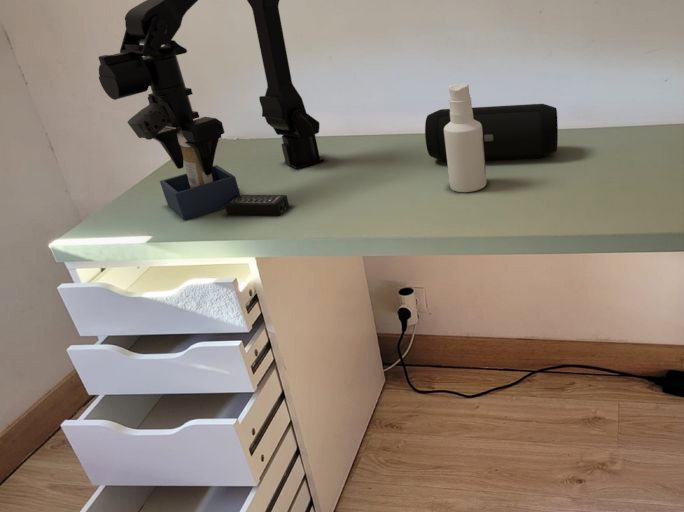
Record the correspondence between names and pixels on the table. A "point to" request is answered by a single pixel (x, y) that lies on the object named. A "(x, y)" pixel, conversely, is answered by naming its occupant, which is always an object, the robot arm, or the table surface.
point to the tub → (199, 193)
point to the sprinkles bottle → (192, 164)
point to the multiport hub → (257, 205)
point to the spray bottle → (464, 143)
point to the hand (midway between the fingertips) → (194, 171)
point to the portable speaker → (502, 131)
